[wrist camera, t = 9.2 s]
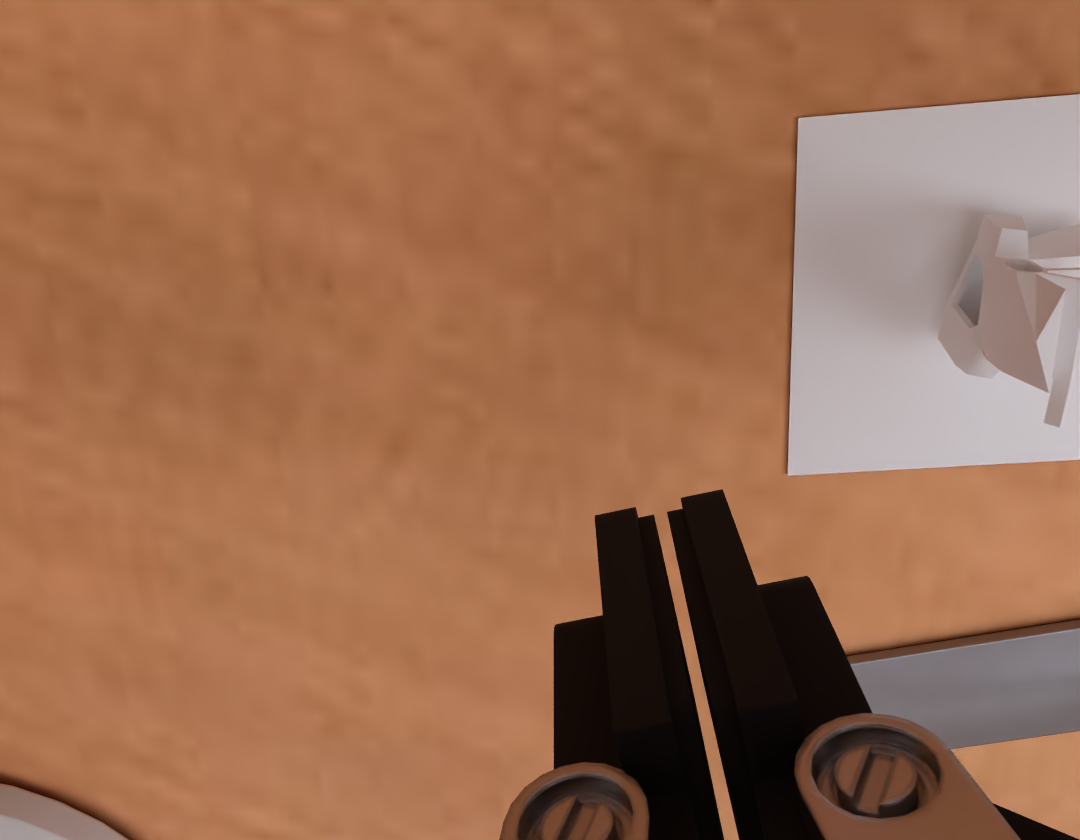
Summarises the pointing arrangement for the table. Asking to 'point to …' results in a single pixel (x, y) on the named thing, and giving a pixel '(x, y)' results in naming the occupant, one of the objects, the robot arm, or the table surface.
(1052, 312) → the adhesive hook
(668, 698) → the robot arm
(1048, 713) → the steel ruler
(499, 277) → the table surface
